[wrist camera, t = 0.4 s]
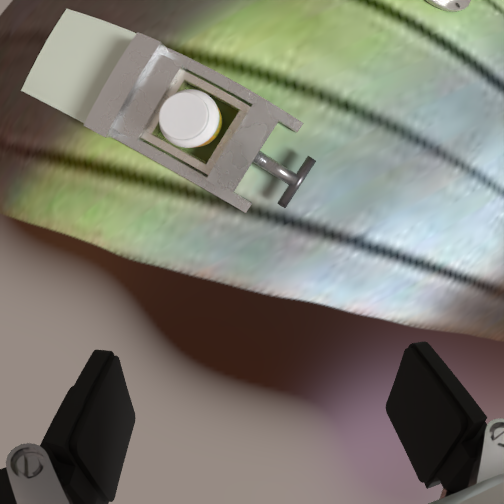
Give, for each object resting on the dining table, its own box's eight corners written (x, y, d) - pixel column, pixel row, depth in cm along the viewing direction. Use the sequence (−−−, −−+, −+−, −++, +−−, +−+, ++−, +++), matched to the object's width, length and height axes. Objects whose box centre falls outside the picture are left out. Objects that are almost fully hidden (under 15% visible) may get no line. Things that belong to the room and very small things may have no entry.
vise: (150, 41, 29) (139, 29, 24) (325, 139, 33) (337, 139, 29) (99, 128, 32) (82, 128, 27) (269, 225, 37) (274, 236, 32)
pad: (67, 9, 26) (66, 8, 25) (138, 34, 28) (137, 33, 28) (22, 90, 29) (21, 90, 28) (86, 123, 31) (84, 123, 31)
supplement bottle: (226, 141, 33) (222, 140, 24) (178, 151, 33) (157, 155, 24) (217, 94, 31) (210, 76, 22) (169, 105, 31) (145, 93, 22)
